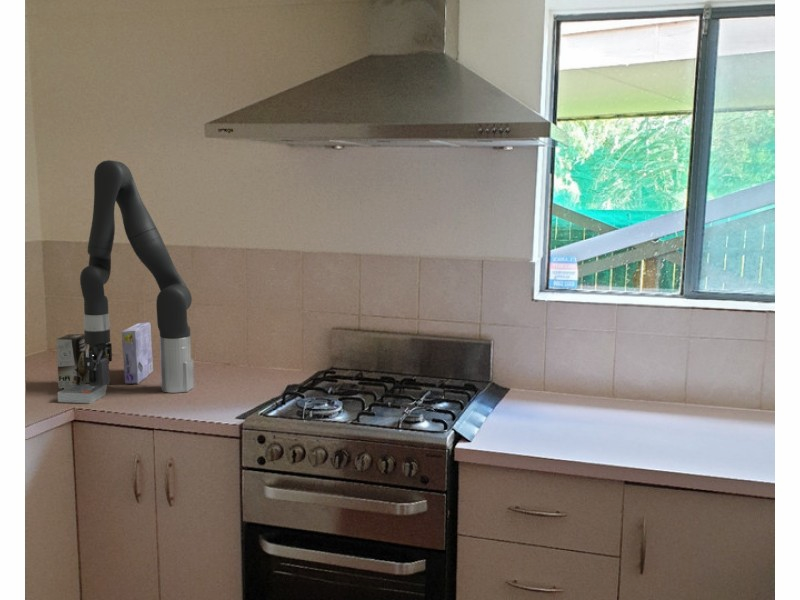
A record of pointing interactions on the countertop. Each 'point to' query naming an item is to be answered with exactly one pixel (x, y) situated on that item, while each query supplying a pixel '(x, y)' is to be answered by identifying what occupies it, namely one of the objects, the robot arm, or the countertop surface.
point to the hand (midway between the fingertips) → (98, 379)
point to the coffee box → (71, 360)
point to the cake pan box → (137, 352)
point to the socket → (81, 393)
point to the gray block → (102, 373)
